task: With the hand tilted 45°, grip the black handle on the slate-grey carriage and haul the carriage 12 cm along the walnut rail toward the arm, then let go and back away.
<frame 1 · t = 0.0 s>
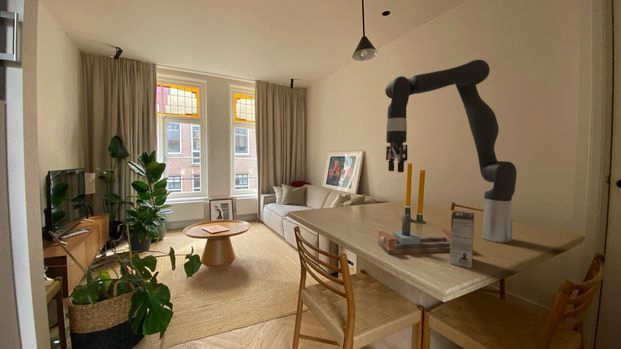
hand: (395, 171, 98), 29 cm above the table, tool pointing down, fingers open, 8 cm apart
rail: (420, 247, 95), on the table
coffee box: (460, 261, 83), on the table
carriage: (406, 227, 94), point 8 cm above the table, slide at 6.0 cm
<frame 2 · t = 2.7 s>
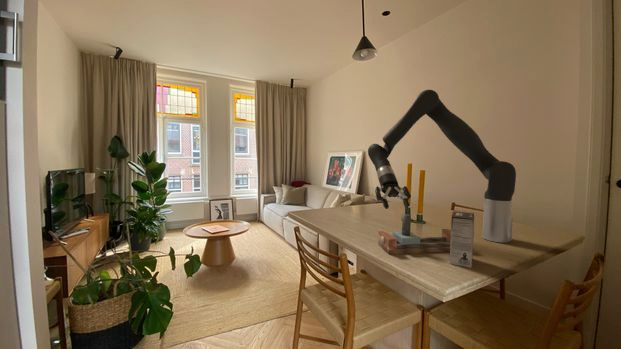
hand: (397, 207, 102), 14 cm above the table, tool tilted 45°, fingers open, 8 cm apart
nothing on the table moved.
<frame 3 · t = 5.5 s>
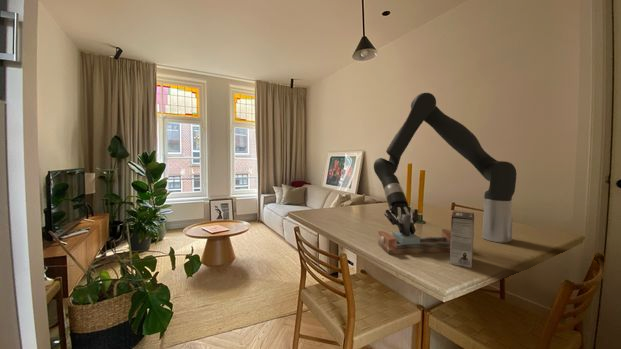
hand: (408, 233, 92), 6 cm above the table, tool tilted 45°, fingers closed on carriage, 3 cm apart
carriage: (406, 227, 94), point 8 cm above the table, slide at 6.0 cm, touching gripper
everything else where it was.
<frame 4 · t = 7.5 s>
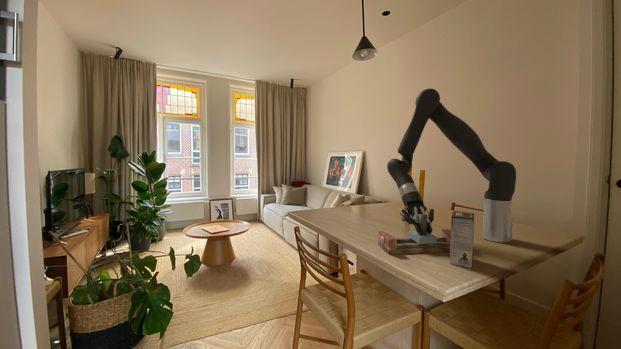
hand: (425, 232, 93), 6 cm above the table, tool tilted 45°, fingers closed on carriage, 3 cm apart
carriage: (422, 227, 95), point 8 cm above the table, slide at -0.7 cm, touching gripper
everything else where it was.
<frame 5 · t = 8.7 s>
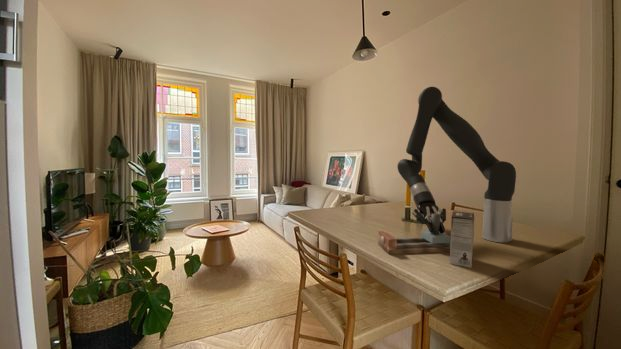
hand: (438, 232, 93), 6 cm above the table, tool tilted 45°, fingers closed on carriage, 3 cm apart
carriage: (435, 227, 95), point 8 cm above the table, slide at -5.8 cm, touching gripper
everything else where it was.
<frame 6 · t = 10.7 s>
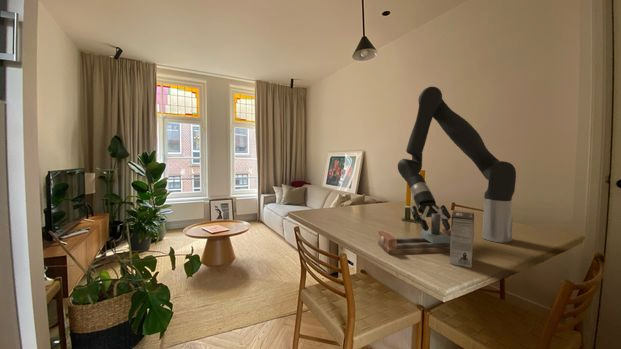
hand: (437, 229, 94), 7 cm above the table, tool tilted 45°, fingers open, 8 cm apart
carriage: (435, 227, 95), point 8 cm above the table, slide at -5.9 cm
everything else where it was.
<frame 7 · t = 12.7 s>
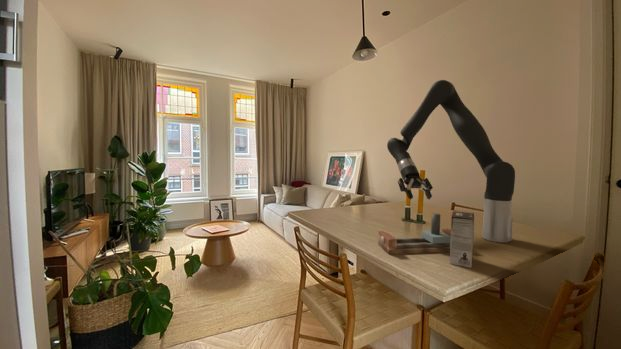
hand: (420, 198, 106), 17 cm above the table, tool tilted 45°, fingers open, 8 cm apart
nothing on the table moved.
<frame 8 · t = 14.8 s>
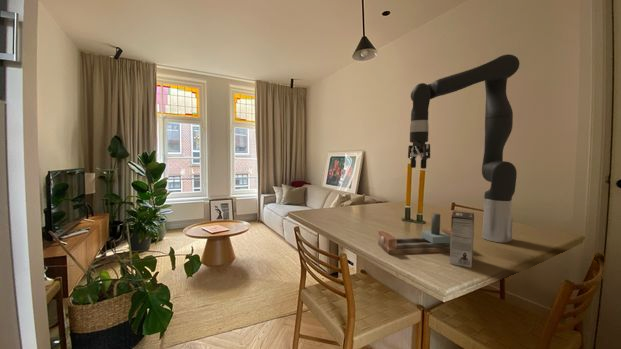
hand: (418, 168, 110), 30 cm above the table, tool pointing down, fingers open, 8 cm apart
nothing on the table moved.
at the end: carriage slide at -5.9 cm; coffee box moved 0.2 cm from its start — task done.
